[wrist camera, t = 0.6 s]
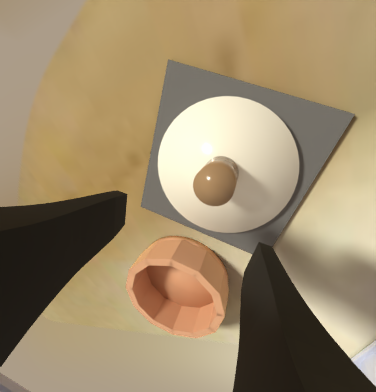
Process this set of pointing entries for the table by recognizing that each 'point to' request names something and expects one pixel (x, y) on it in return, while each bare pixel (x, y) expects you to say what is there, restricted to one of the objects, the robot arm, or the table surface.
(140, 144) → the table surface
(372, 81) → the table surface
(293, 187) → the lid
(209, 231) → the mat
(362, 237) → the table surface
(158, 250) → the bowl
